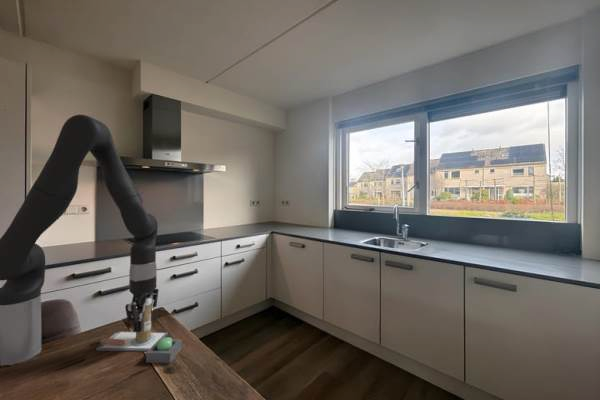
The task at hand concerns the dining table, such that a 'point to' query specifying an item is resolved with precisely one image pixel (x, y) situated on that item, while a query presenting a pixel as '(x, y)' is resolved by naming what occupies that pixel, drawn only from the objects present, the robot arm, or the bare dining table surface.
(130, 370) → the dining table surface
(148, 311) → the sprinkles bottle
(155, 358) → the button box
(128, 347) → the tray with round recess
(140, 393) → the dining table surface
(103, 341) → the pink rounded rod
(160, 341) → the button
